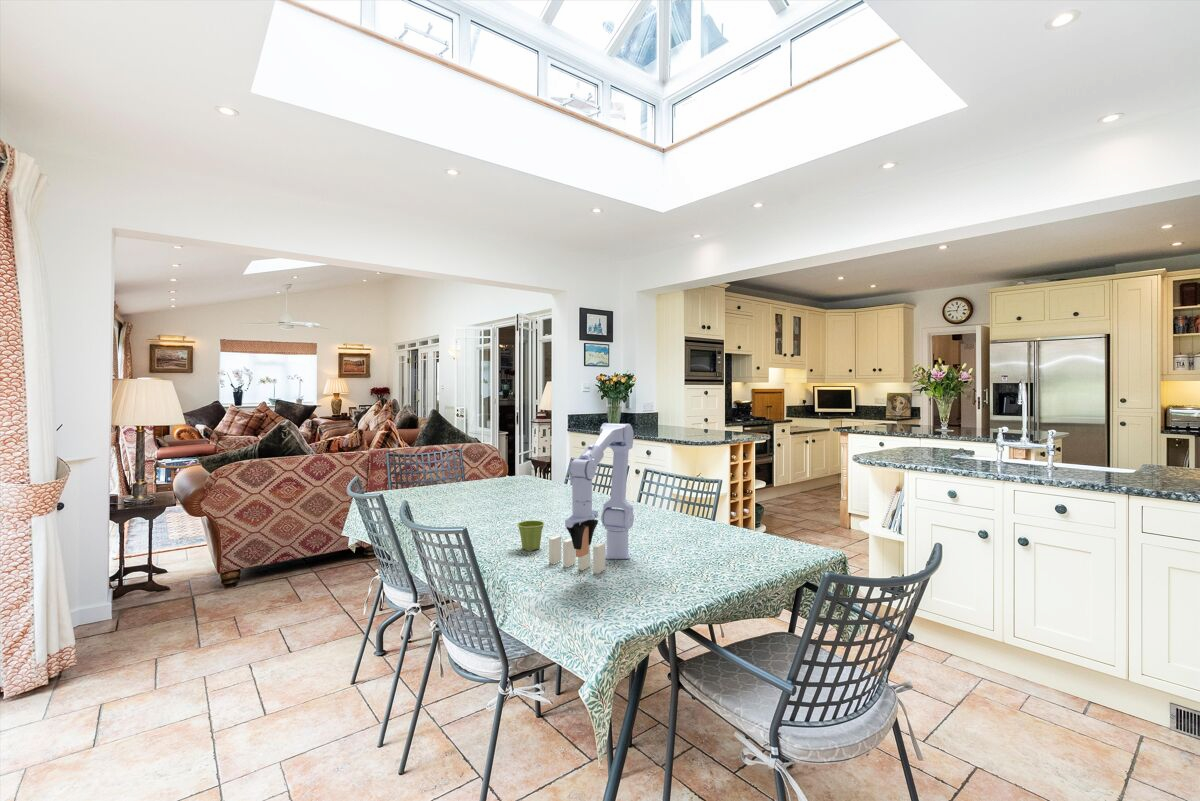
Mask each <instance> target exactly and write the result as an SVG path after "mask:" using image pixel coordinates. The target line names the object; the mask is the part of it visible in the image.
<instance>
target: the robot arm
mask: <svg viewBox="0 0 1200 801" xmlns="http://www.w3.org/2000/svg"><path fill="white" fill-rule="evenodd" d="M633 445H634V429H633V426H632V425H631V424H630V423H611V422H609V423H608V422H604V423H602V424H601V426H600V427H599V436H598V438H596V440H595V442H594V444H589V445H588V446H587V447H586V449H584V451H583V452H582V453H581V455H579V457H578V458H574V459H573V460H572V461H570V463H569V465H568V470H567V472H568V476H569V479H570V480H569V481H570V485H572V487H571V490H572V494H571V496H572V512H571V514H572V515H570V516H569V517H568V518H567V519H565V520H564V523H565V524H564V527H565V528H566V530H567V532H568V533H569V536H570V538H571V539H572V542H573V546H574V549H575V550H576V549H579V550H580V549H581V547H582V538H583V533H584V530H585V528H586V527H585V526H589V545H590V546H591V545H592V539H593V536H594V534H595V533H594V532H595V529H596V527H597V526H598V524H599V520H598V519H596V518H599V511H598V510H593V479H594V478H595V476H596V471H597V469H598V465H599V464H600V463H601V461H602V460H603V458H604V451H605V450H606V449H607V448H610V449H611V450H612V451H613V459H612V473H611V486H610V498H609V499H608V500H607V501H606V502H605V503H604V504H603V507H602V510H601V513H600V514H601V515H600V521H601V525H602V526H603V527H604V529H605V530H606V548H605V560H607V559H608V560H614V559H615V560H617V559H618V560H619V559H622V560H623V559H624V560H625V559H626V560H630V559H631V556H630V549H629V530H630V529H631V528H632V527H633V524H634V521H635V515H634V506H633V505H632V503H630V501H628V500H627V499H626V494H627V493H626V492H627V482H628V480H627V479H628V478H627V477H628V466H629V465H628V464H629V450H631V449H633Z"/></svg>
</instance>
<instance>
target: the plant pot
mask: <svg viewBox="0 0 1200 801" xmlns="http://www.w3.org/2000/svg"><path fill="white" fill-rule="evenodd" d="M544 526H545V522H543V521H542V520H524V521H520V522H518V523H517V527H518V530H519V533H520V535H519V536H520V542H521V548H523V549H522V550H525V551H531V550H532V551H535V550H539V549H540V548H541V542H542V532H543V529H544Z"/></svg>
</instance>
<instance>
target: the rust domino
mask: <svg viewBox="0 0 1200 801" xmlns="http://www.w3.org/2000/svg"><path fill="white" fill-rule="evenodd" d="M585 527H586V528H585V530H584V533H583V538H582V547H581V549H580V550H579V549H575V557H576V558H578V557H582V556H584V555H587V554H589V526H585Z"/></svg>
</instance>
